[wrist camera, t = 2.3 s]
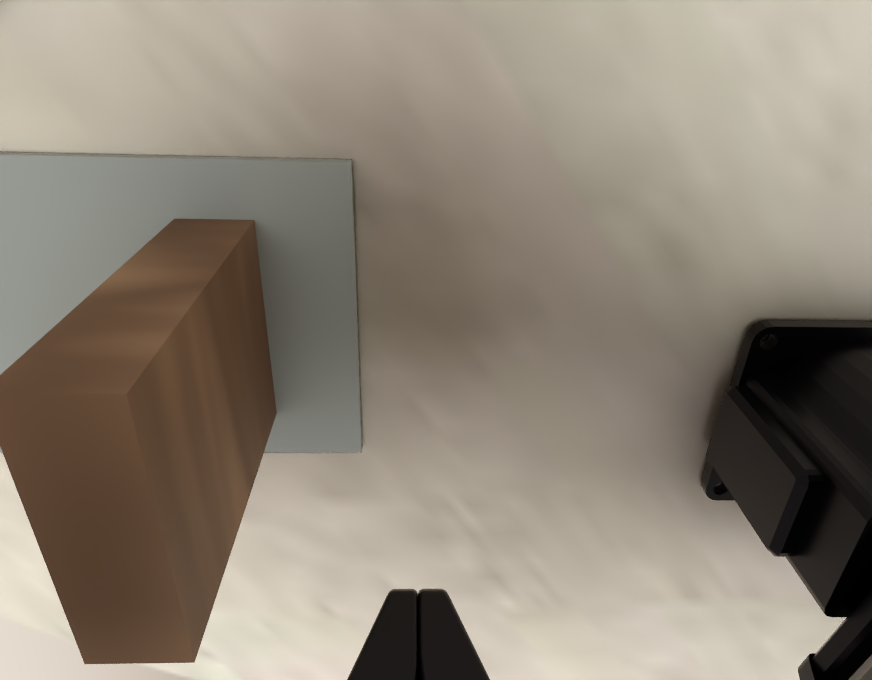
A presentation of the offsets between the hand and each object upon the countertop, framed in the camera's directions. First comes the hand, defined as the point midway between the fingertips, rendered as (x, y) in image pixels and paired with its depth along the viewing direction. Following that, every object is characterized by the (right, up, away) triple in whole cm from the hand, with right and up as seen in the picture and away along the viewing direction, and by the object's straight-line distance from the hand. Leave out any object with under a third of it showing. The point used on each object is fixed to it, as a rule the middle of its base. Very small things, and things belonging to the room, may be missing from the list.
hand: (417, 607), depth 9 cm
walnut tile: (-5, +4, +8) cm, 10 cm away
